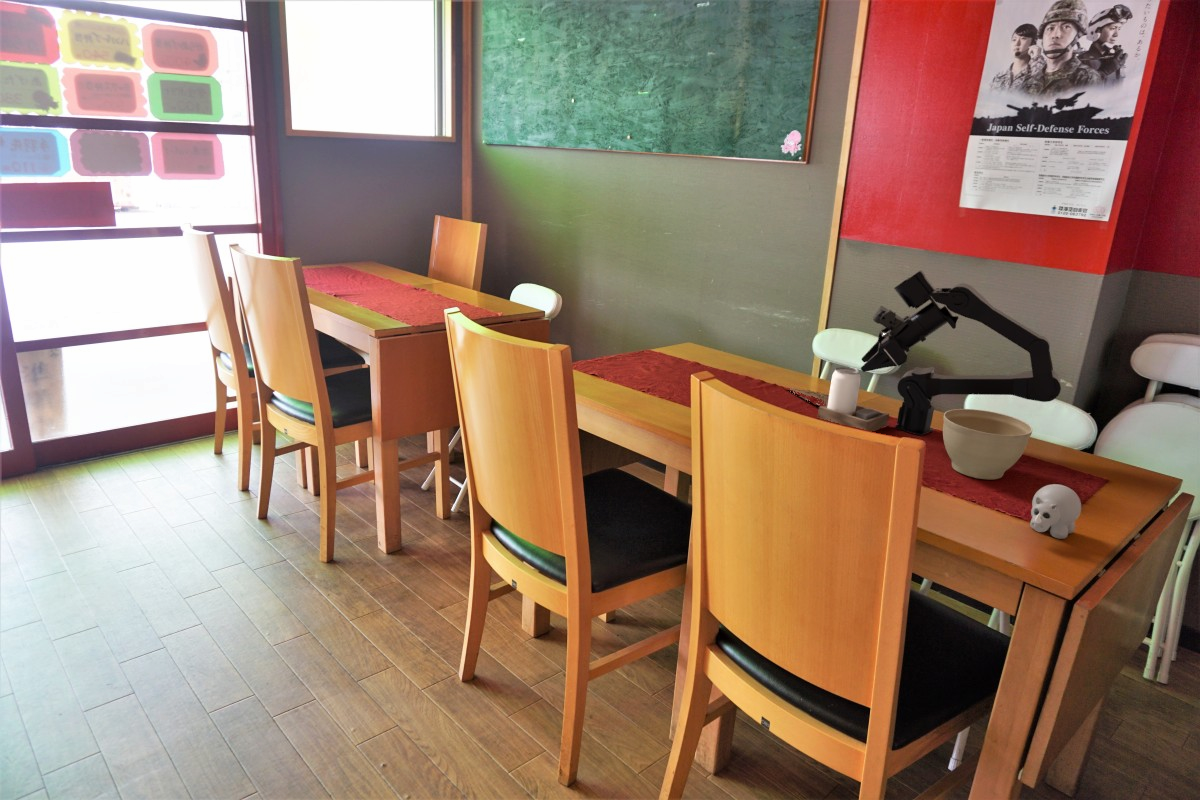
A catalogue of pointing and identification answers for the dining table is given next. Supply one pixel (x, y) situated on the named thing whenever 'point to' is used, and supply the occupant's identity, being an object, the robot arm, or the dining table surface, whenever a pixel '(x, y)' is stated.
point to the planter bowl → (984, 441)
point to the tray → (854, 418)
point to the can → (844, 390)
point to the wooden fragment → (814, 394)
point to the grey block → (867, 414)
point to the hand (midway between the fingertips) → (862, 365)
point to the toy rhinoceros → (1055, 510)
